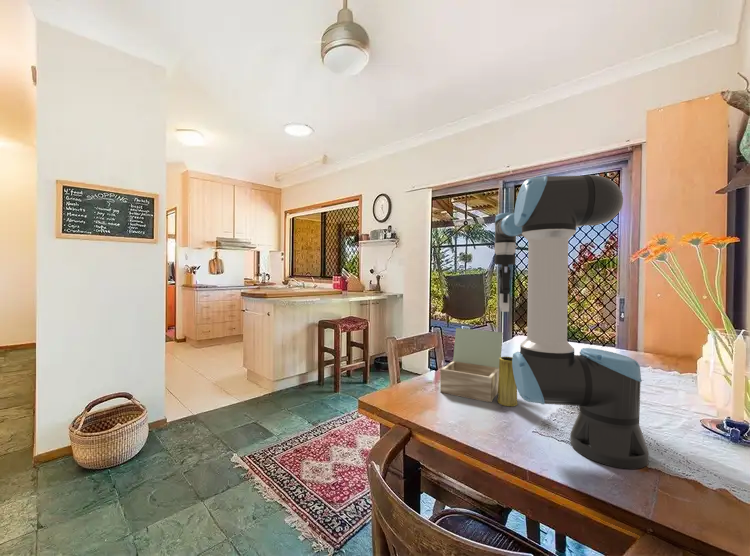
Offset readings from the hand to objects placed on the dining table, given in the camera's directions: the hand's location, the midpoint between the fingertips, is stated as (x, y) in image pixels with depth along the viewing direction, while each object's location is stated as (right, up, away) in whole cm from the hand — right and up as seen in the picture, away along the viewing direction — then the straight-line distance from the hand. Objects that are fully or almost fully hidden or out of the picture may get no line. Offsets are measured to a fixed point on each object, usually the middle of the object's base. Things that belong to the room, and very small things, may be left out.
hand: (504, 309), depth 131 cm
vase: (-7, -28, -22) cm, 37 cm away
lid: (-12, -13, -6) cm, 19 cm away
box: (-16, -28, -12) cm, 34 cm away
